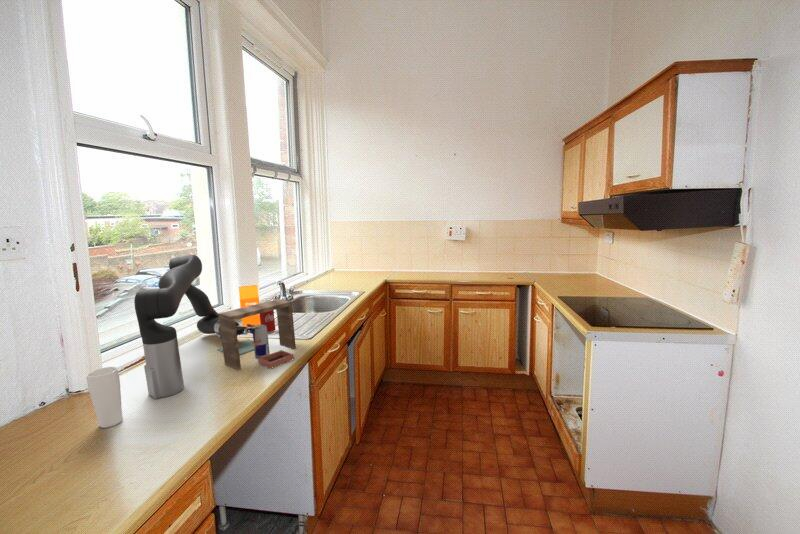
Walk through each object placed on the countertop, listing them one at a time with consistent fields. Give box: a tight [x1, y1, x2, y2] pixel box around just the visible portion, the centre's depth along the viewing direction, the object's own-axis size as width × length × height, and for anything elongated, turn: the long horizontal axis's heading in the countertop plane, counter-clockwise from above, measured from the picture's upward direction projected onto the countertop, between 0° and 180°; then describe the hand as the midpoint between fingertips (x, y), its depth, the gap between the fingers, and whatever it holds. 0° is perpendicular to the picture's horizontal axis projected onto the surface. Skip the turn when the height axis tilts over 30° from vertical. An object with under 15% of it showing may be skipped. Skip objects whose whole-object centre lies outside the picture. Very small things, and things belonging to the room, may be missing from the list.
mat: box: [216, 339, 255, 356], centre depth 160 cm, size 14×14×1 cm
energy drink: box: [252, 325, 271, 359], centre depth 149 cm, size 5×5×12 cm
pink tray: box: [257, 349, 295, 369], centre depth 144 cm, size 10×8×2 cm
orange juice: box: [238, 284, 261, 326], centre depth 191 cm, size 8×9×20 cm
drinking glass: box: [86, 366, 124, 429], centre depth 105 cm, size 7×7×15 cm
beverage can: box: [259, 310, 276, 335], centre depth 179 cm, size 6×6×12 cm
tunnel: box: [218, 298, 297, 371], centre depth 149 cm, size 25×9×20 cm, turn 140°
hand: (246, 335), depth 156 cm, fingers open, 8 cm apart
